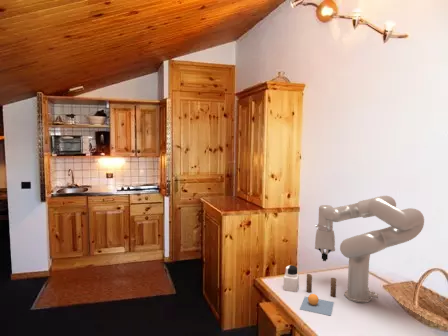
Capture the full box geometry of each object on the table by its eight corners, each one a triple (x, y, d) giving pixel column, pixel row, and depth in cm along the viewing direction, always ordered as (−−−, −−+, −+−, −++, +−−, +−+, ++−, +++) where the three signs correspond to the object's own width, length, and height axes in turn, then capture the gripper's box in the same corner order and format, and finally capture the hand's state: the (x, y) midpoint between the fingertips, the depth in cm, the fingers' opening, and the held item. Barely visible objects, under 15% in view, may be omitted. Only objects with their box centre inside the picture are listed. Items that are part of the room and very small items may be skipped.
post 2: (336, 295, 165) (336, 278, 165) (335, 297, 163) (336, 280, 162) (330, 294, 166) (331, 277, 166) (330, 296, 164) (330, 279, 163)
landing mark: (333, 302, 158) (333, 301, 158) (330, 315, 145) (330, 315, 145) (304, 296, 163) (304, 296, 163) (299, 309, 151) (299, 309, 151)
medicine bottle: (298, 286, 175) (299, 265, 175) (297, 292, 169) (297, 269, 168) (285, 284, 178) (285, 263, 177) (283, 290, 171) (283, 268, 170)
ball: (317, 308, 154) (319, 299, 158) (317, 302, 151) (319, 293, 155) (307, 305, 156) (309, 296, 160) (306, 299, 153) (308, 290, 157)
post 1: (311, 291, 170) (312, 274, 170) (311, 293, 168) (311, 276, 167) (306, 290, 171) (307, 273, 171) (306, 292, 169) (306, 275, 168)
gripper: (310, 227, 176) (309, 260, 178) (339, 230, 170) (338, 264, 172) (312, 224, 183) (311, 256, 184) (340, 227, 177) (339, 260, 178)
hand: (324, 260), depth 178 cm, fingers closed
